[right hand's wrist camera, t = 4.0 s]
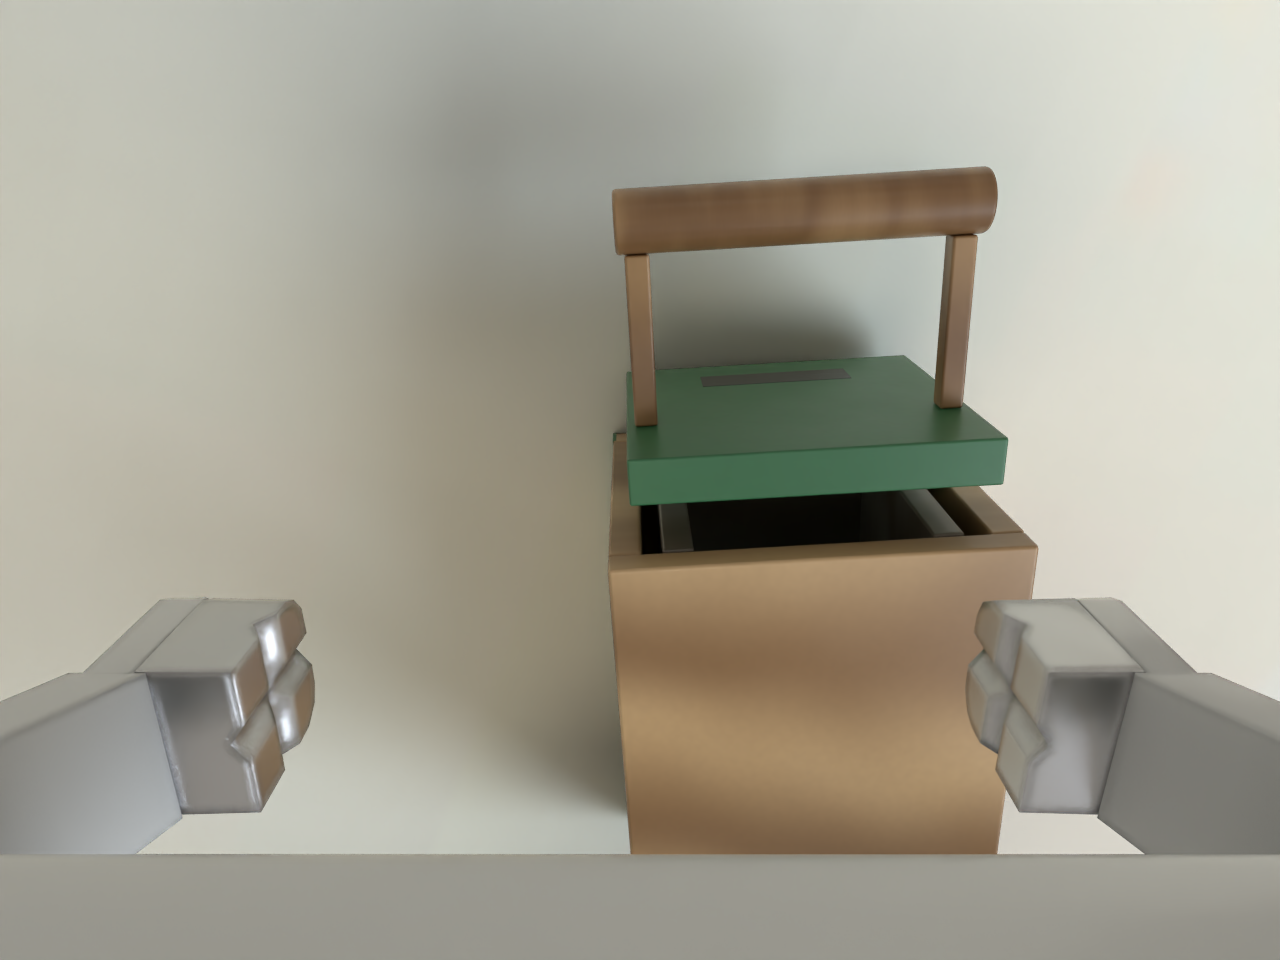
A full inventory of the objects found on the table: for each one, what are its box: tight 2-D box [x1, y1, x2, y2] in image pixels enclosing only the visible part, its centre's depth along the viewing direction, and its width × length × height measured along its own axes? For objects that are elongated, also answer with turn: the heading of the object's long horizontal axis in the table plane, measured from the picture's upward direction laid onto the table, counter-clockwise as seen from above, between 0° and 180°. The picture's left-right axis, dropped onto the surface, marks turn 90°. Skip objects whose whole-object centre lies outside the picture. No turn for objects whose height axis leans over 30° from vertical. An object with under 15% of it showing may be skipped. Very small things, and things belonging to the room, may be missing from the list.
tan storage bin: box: [608, 433, 1038, 854], centre depth 28 cm, size 17×10×10 cm, turn 3°
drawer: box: [612, 167, 1008, 554], centre depth 25 cm, size 22×9×8 cm, turn 3°
